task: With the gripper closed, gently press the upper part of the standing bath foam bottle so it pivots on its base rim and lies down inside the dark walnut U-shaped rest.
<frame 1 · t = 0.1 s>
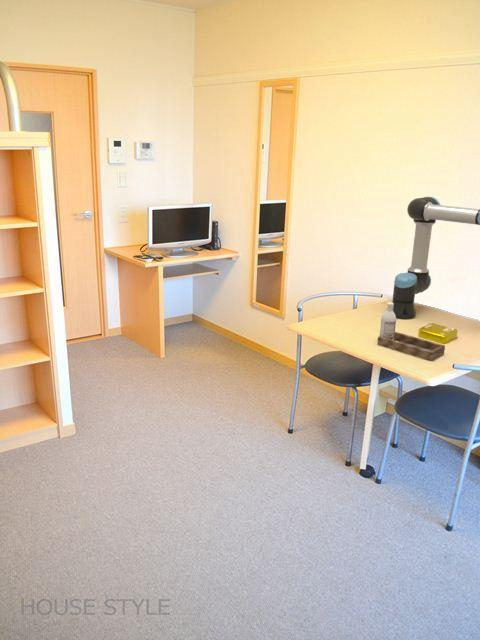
bath foam: (386, 342, 265), on the table
U-rest: (410, 349, 257), on the table
element tile: (437, 337, 274), on the table
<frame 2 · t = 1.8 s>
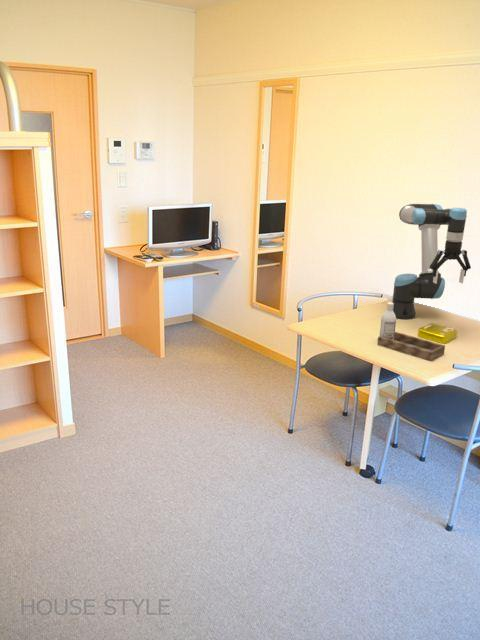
hand: (447, 282, 269), 27 cm above the table, tool pointing down, fingers open, 13 cm apart
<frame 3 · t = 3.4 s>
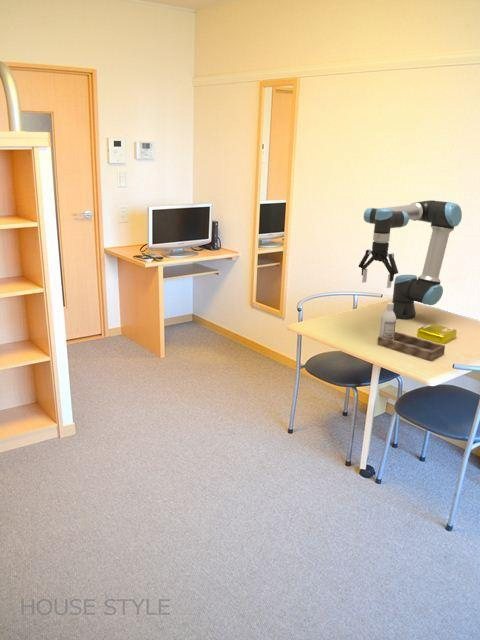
hand: (376, 284, 263), 27 cm above the table, tool pointing down, fingers open, 13 cm apart
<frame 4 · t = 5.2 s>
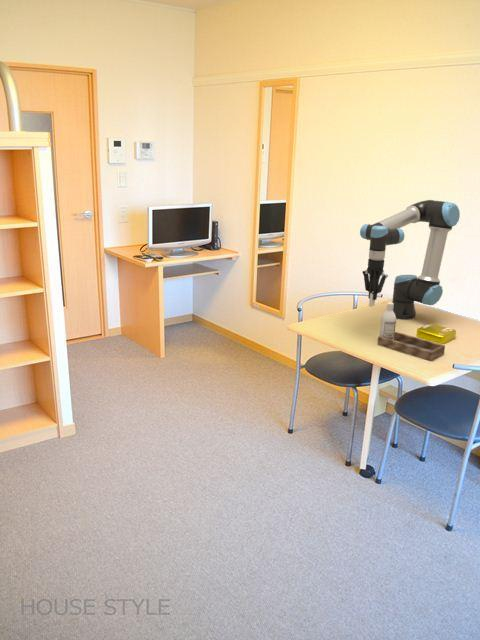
hand: (371, 305, 267), 16 cm above the table, tool pointing down, fingers closed
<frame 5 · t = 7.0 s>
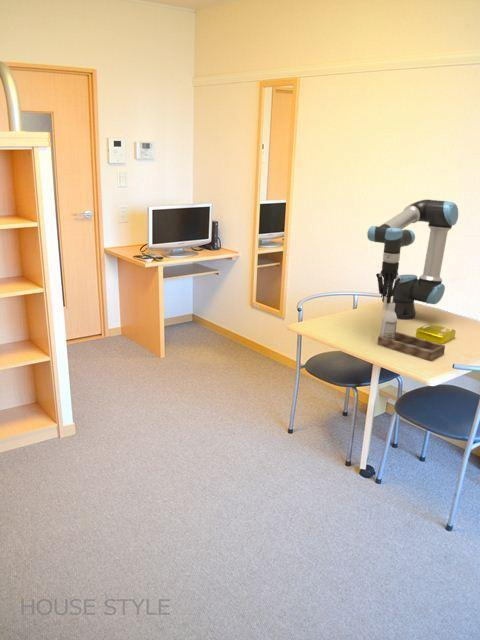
hand: (385, 309, 261), 17 cm above the table, tool pointing down, fingers closed
bath foam: (386, 342, 265), on the table, touching gripper
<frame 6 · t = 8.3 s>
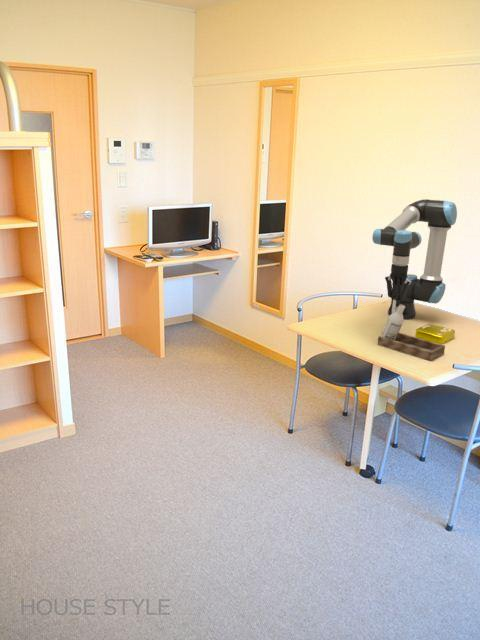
hand: (394, 312, 258), 16 cm above the table, tool pointing down, fingers closed
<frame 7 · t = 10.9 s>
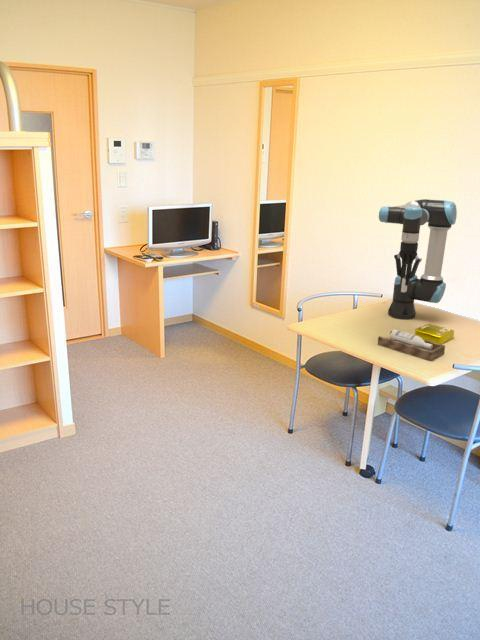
hand: (403, 291, 253), 27 cm above the table, tool pointing down, fingers closed
bath foam: (392, 335, 262), point 4 cm above the table, touching U-rest
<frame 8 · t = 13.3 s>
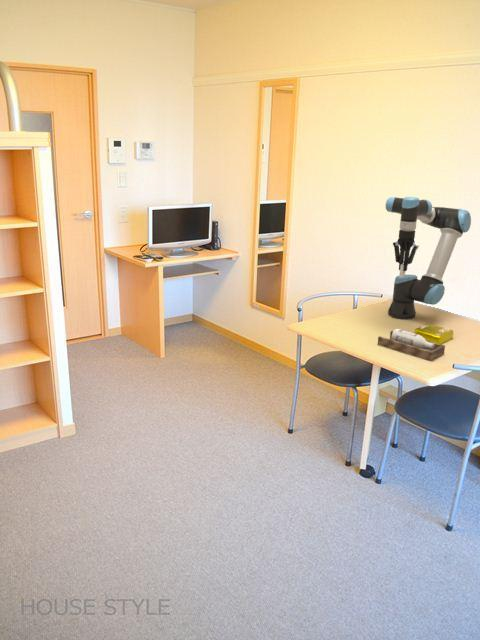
hand: (401, 276, 269), 29 cm above the table, tool pointing down, fingers closed
bath foam: (394, 335, 263), point 4 cm above the table, touching U-rest
at the end: bath foam tilted 90°; bath foam inside the target area on the U-rest (2.0 cm from its centre), point 4.0 cm above the U-rest's base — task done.
